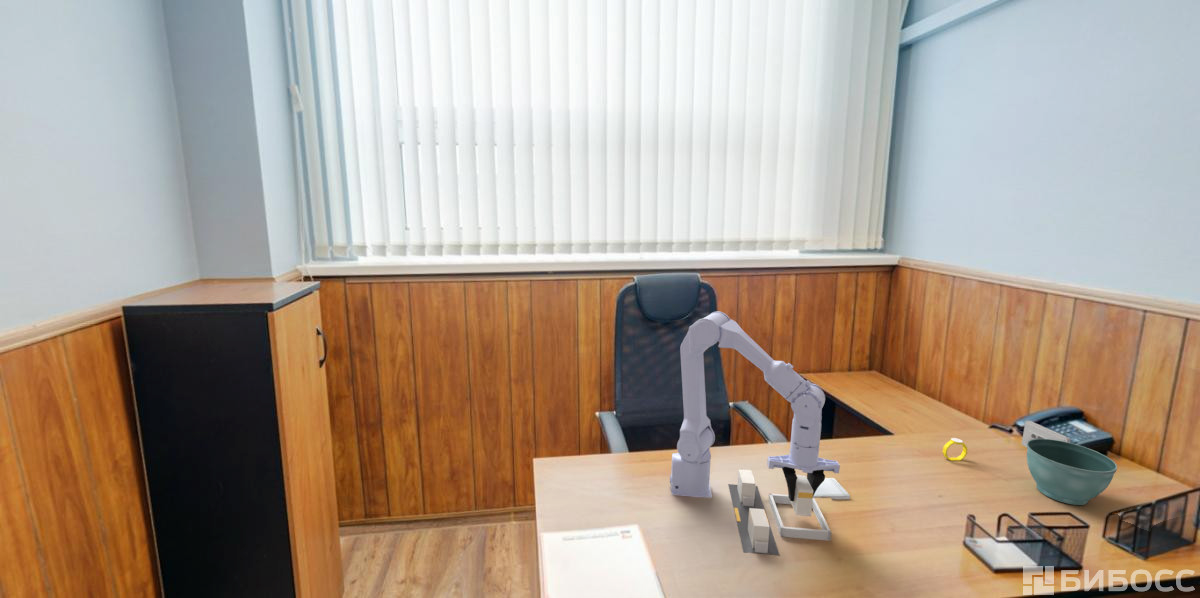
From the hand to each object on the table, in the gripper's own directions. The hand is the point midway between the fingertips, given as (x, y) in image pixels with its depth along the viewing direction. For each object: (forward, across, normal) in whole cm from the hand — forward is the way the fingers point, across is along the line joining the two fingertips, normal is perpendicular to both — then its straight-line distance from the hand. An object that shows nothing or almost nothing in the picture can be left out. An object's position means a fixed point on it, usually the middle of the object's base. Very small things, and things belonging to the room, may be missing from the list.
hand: (799, 499), depth 113 cm
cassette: (+6, +77, +42) cm, 88 cm away
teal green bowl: (+6, +67, +20) cm, 70 cm away
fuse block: (+6, -10, 0) cm, 11 cm away
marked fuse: (+2, 0, -1) cm, 2 cm away
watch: (+6, +50, +35) cm, 61 cm away
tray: (+6, 0, 0) cm, 6 cm away
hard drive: (+6, +8, +14) cm, 17 cm away
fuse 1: (+5, -10, +8) cm, 14 cm away
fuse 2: (+5, -10, -8) cm, 14 cm away
